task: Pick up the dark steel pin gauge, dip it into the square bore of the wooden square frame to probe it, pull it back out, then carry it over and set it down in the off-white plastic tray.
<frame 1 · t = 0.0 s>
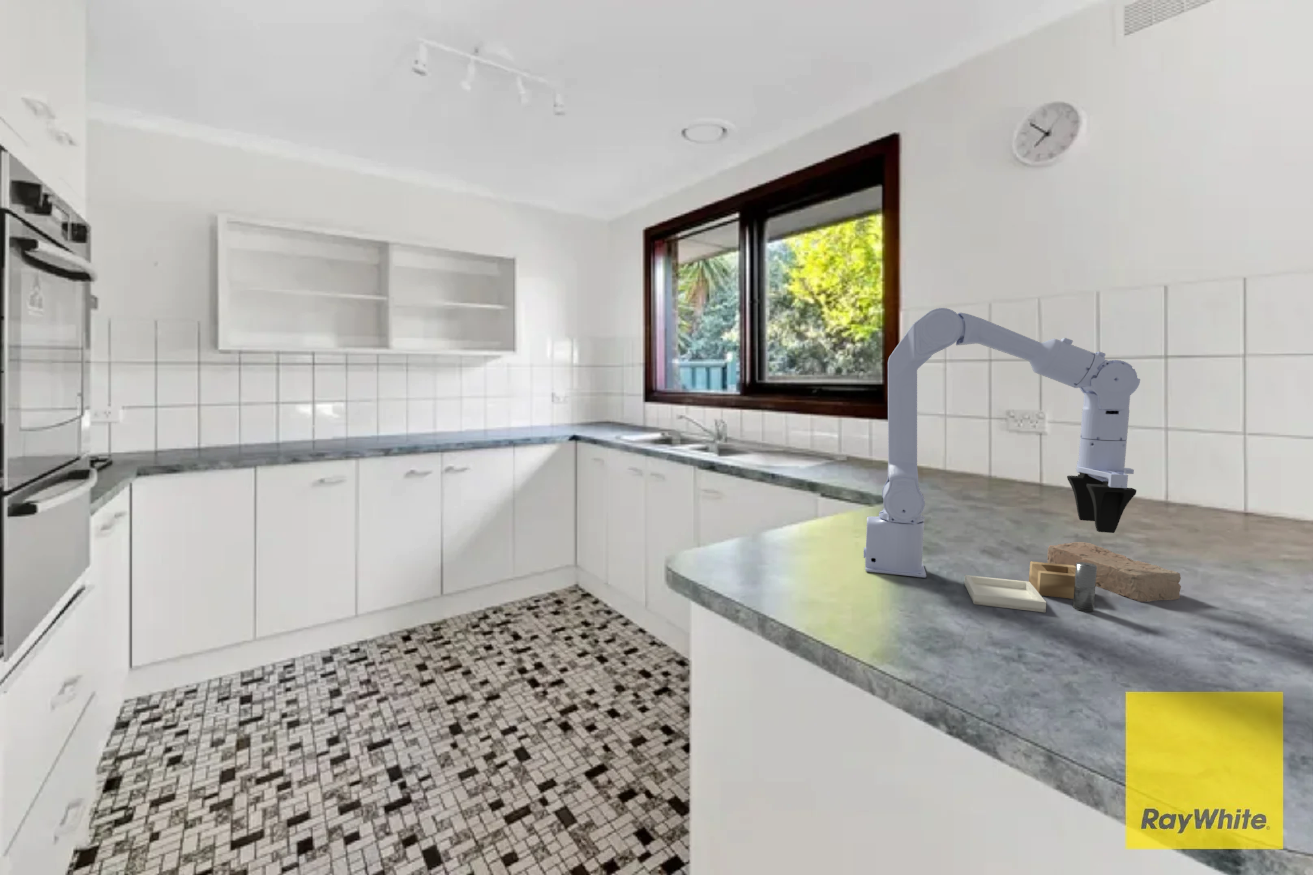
hand: (1096, 525, 91), 10 cm above the countertop, fingers open, 7 cm apart
wooden square frame: (1055, 590, 91), on the countertop
pin gauge: (1083, 608, 84), on the countertop
brick: (1108, 584, 96), on the countertop
tray: (1002, 597, 88), on the countertop
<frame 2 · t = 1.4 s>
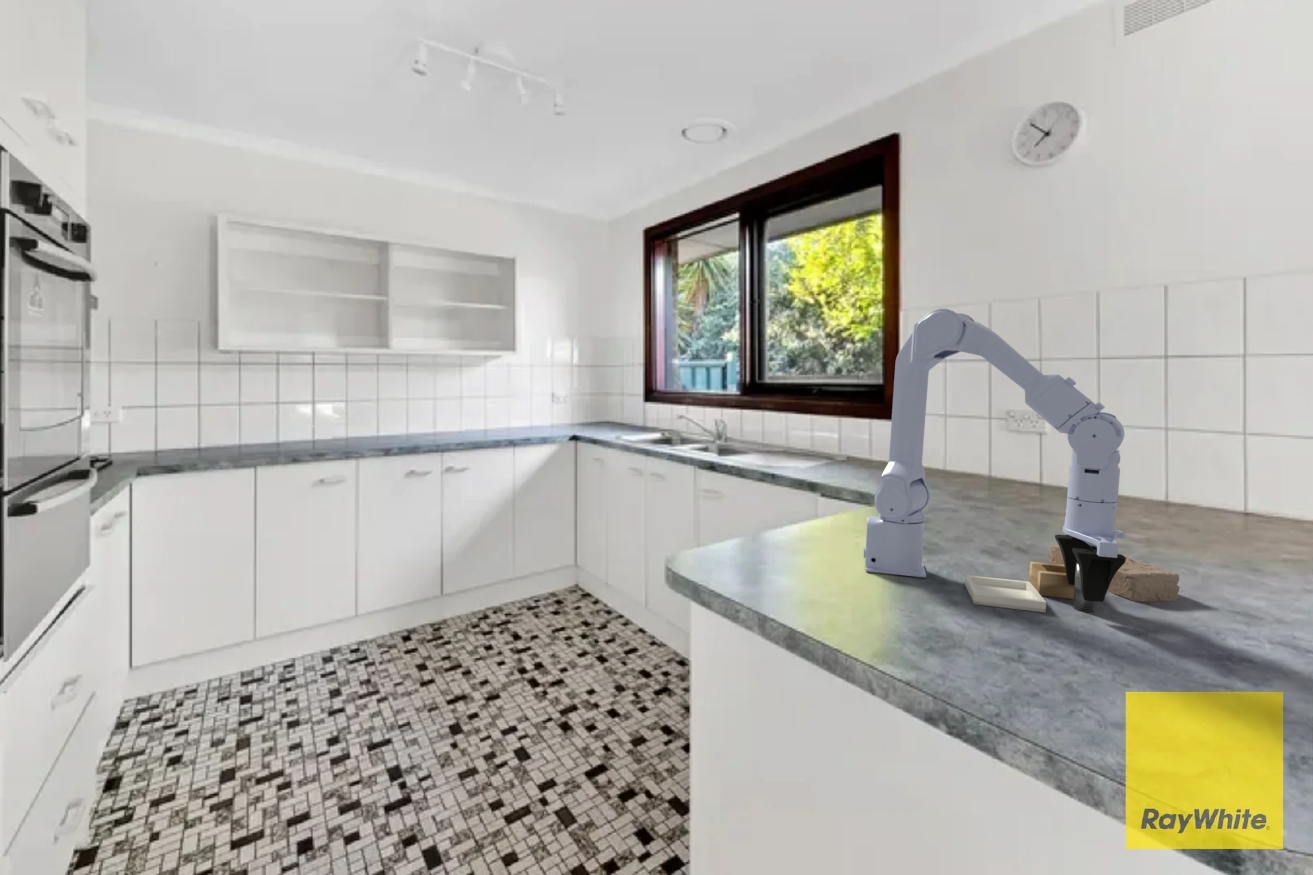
hand: (1084, 592, 84), 2 cm above the countertop, fingers open, 6 cm apart
nothing on the countertop moved.
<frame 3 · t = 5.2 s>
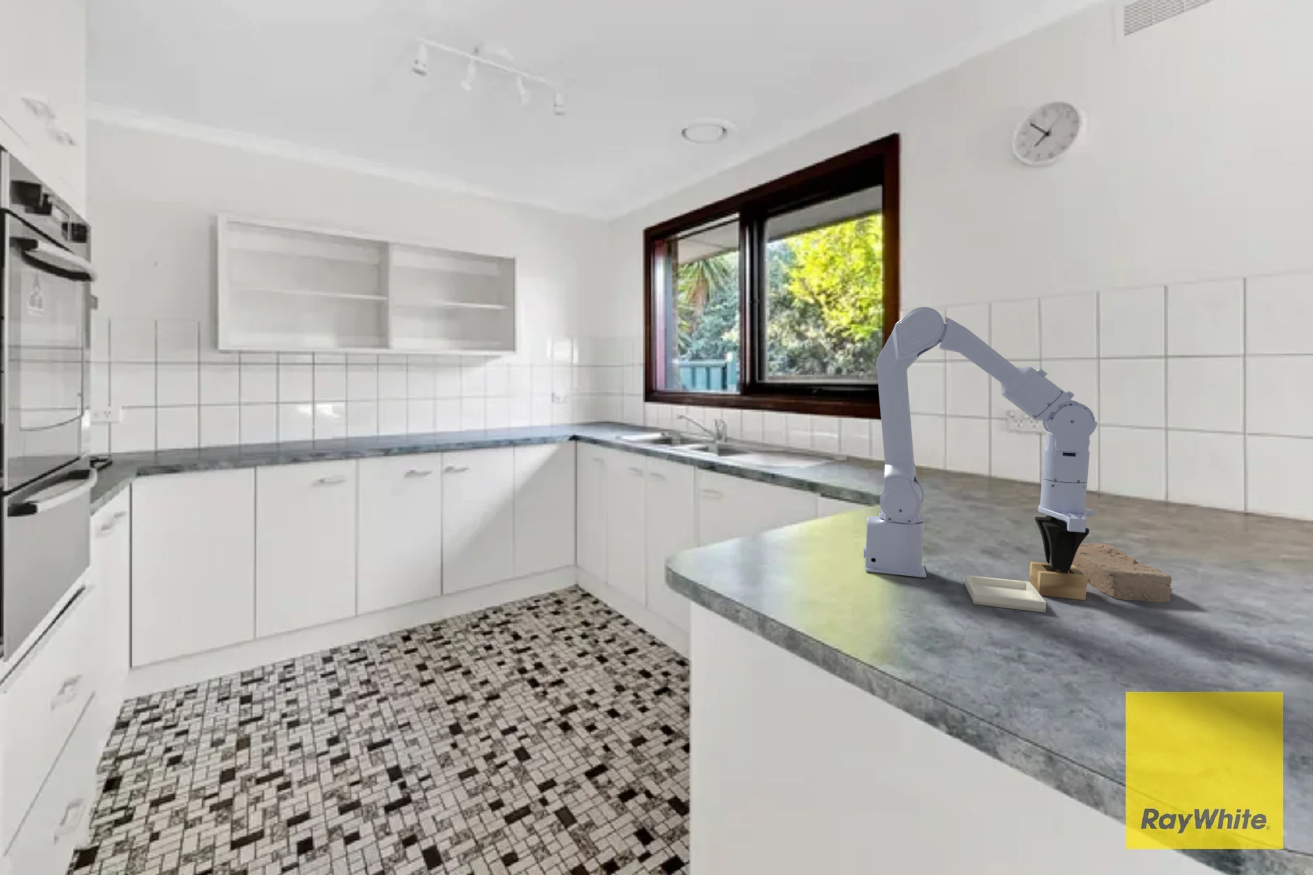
hand: (1057, 566, 91), 4 cm above the countertop, fingers closed on pin gauge, 2 cm apart
pin gauge: (1057, 583, 91), point 1 cm above the countertop, touching gripper
when the fingers open (3 cm above the countertop, at t = 8.2 s): pin gauge stays where it is, resting on tray.
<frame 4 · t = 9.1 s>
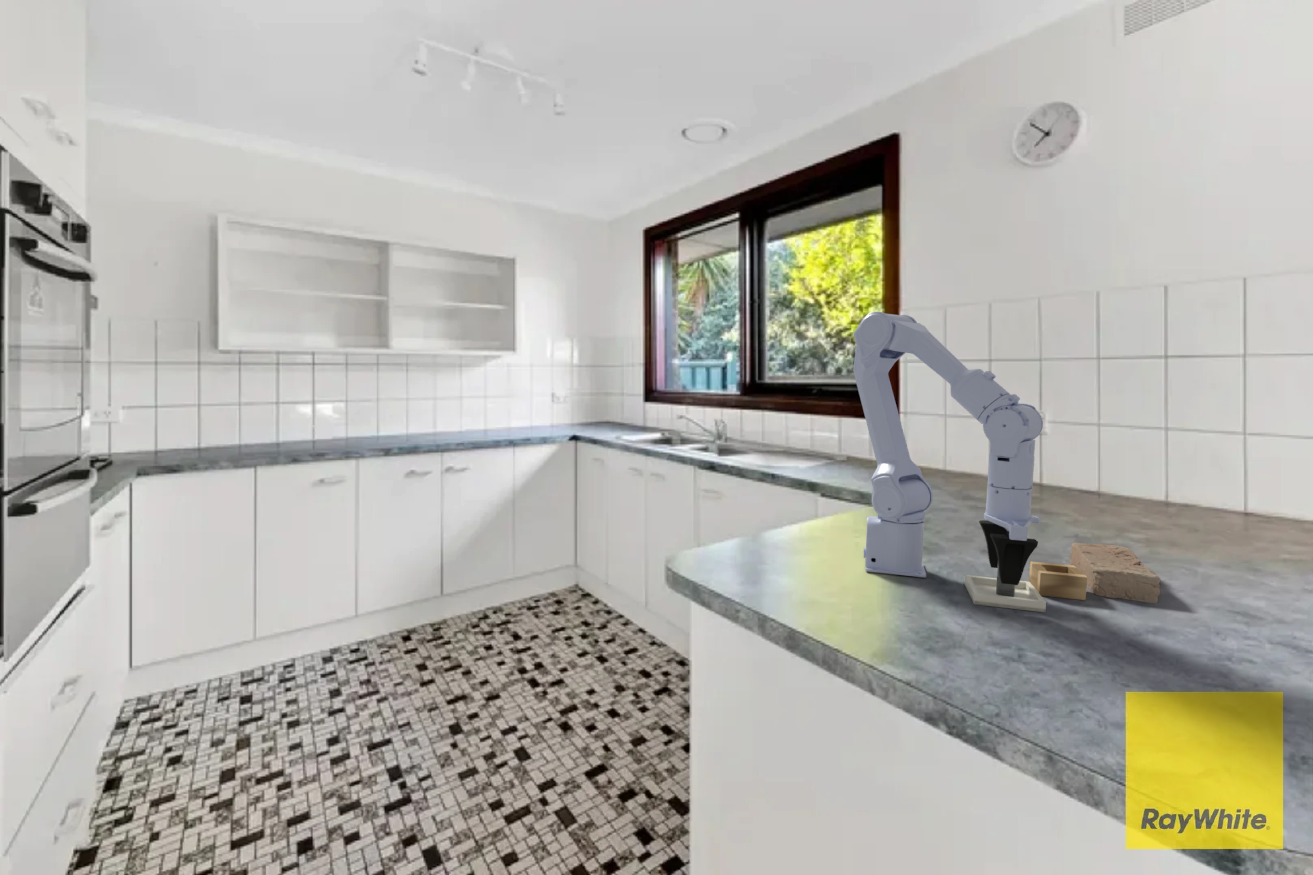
hand: (1003, 575, 88), 3 cm above the countertop, fingers open, 7 cm apart
pin gauge: (1005, 594, 88), point 1 cm above the countertop, touching tray
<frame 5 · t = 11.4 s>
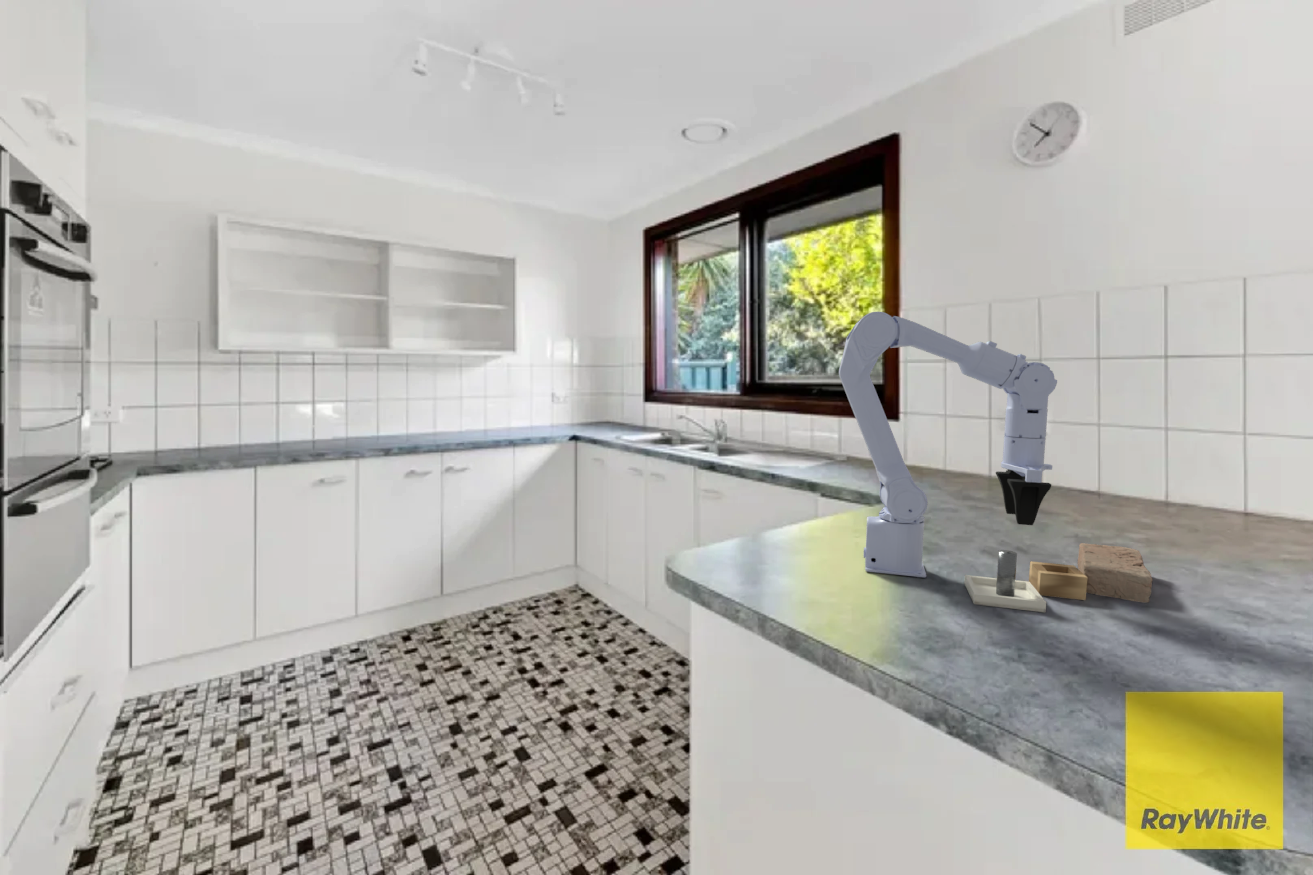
hand: (1019, 518, 96), 10 cm above the countertop, fingers open, 7 cm apart
at the end: pin gauge inside the target area on the tray (0.4 cm from its centre), point 0.5 cm above the tray's base; the gripper is holding nothing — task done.
